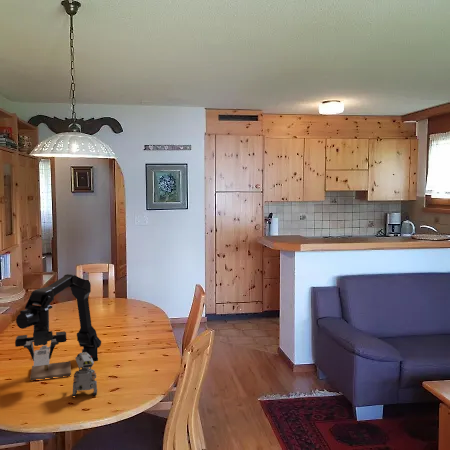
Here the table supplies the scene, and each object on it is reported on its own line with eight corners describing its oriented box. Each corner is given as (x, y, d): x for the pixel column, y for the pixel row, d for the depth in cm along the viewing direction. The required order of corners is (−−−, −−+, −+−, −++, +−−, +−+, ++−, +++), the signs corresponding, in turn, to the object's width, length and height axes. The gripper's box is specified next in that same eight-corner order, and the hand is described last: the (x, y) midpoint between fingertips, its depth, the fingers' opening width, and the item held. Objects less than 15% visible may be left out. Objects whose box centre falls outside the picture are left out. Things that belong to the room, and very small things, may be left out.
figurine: (98, 385, 177) (97, 349, 176) (96, 398, 166) (95, 360, 165) (74, 387, 175) (74, 351, 174) (71, 400, 164) (70, 362, 163)
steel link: (49, 358, 179) (49, 348, 179) (49, 364, 173) (49, 354, 172) (34, 359, 177) (34, 350, 177) (33, 366, 171) (33, 356, 170)
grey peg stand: (70, 364, 199) (70, 347, 199) (70, 376, 186) (70, 358, 185) (32, 368, 193) (32, 351, 193) (30, 381, 180) (29, 363, 180)
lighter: (39, 357, 207) (39, 341, 207) (40, 356, 209) (40, 339, 208) (55, 356, 208) (55, 340, 208) (56, 355, 210) (55, 339, 210)
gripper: (13, 329, 163) (14, 370, 164) (66, 325, 169) (66, 364, 170) (16, 321, 173) (17, 359, 174) (66, 317, 180) (66, 354, 181)
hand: (41, 359), depth 175 cm, fingers closed on steel link, 6 cm apart
